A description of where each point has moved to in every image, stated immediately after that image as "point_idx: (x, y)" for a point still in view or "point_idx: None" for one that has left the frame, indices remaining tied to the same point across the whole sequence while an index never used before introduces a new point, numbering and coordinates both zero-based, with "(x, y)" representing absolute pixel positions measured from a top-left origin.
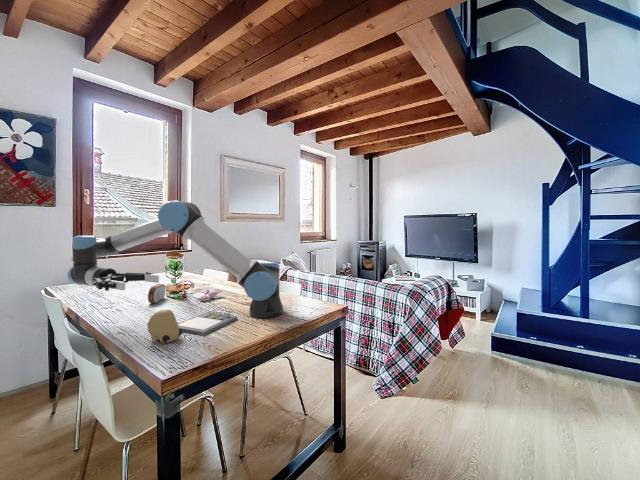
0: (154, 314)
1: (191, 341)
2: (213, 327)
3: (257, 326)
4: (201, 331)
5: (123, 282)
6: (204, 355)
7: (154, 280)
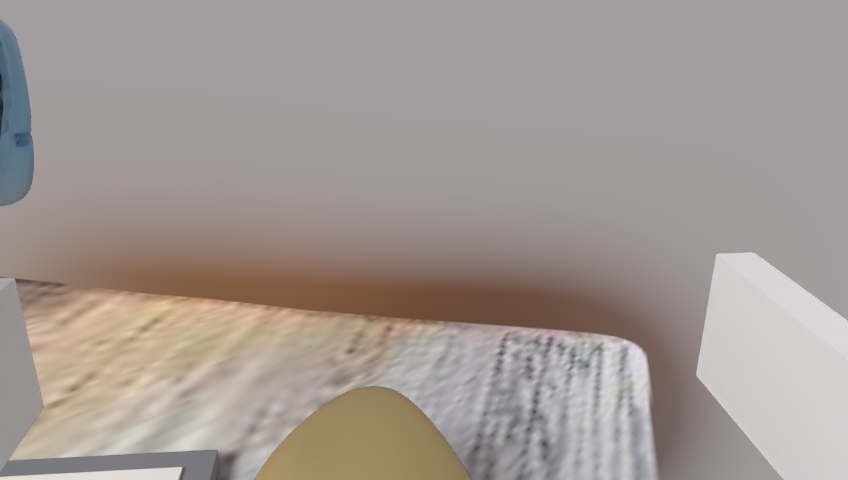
0: (442, 457)
1: None
2: (113, 457)
3: None
4: (207, 466)
5: (742, 256)
6: (432, 347)
7: (3, 414)
